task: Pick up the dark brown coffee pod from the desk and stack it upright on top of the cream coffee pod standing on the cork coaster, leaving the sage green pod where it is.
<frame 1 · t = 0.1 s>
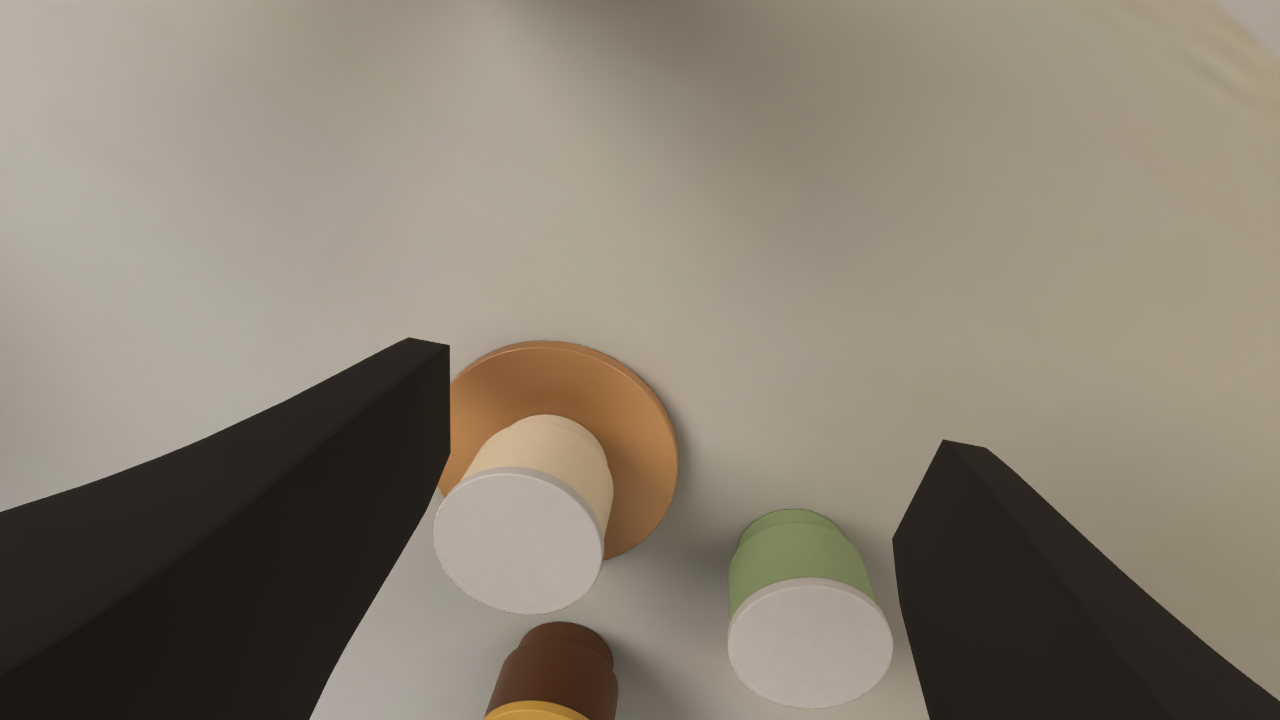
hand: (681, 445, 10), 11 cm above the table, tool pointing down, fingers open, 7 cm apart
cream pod: (551, 464, 22), point 1 cm above the table, touching coaster
brown pod: (565, 658, 26), on the table
coaster: (555, 455, 22), on the table
green pod: (791, 553, 23), on the table
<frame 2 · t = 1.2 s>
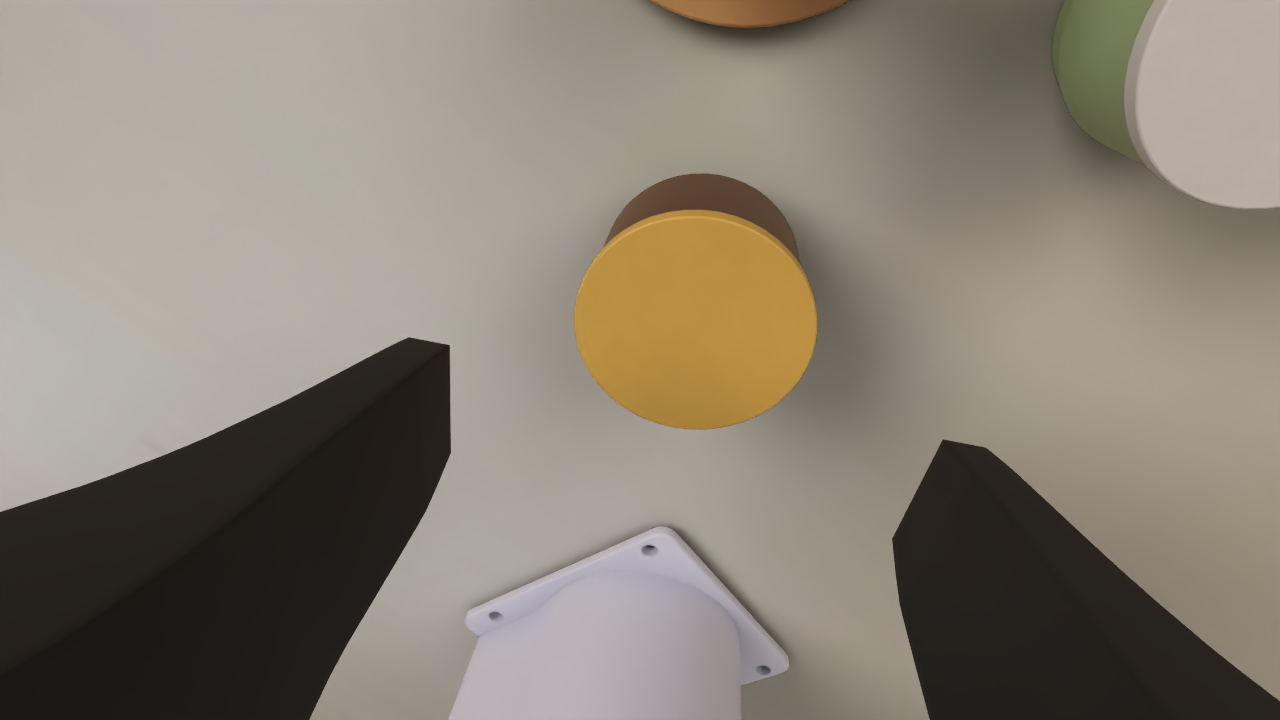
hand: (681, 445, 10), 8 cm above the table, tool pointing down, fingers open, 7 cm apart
brown pod: (701, 249, 16), on the table
green pod: (1158, 21, 13), on the table
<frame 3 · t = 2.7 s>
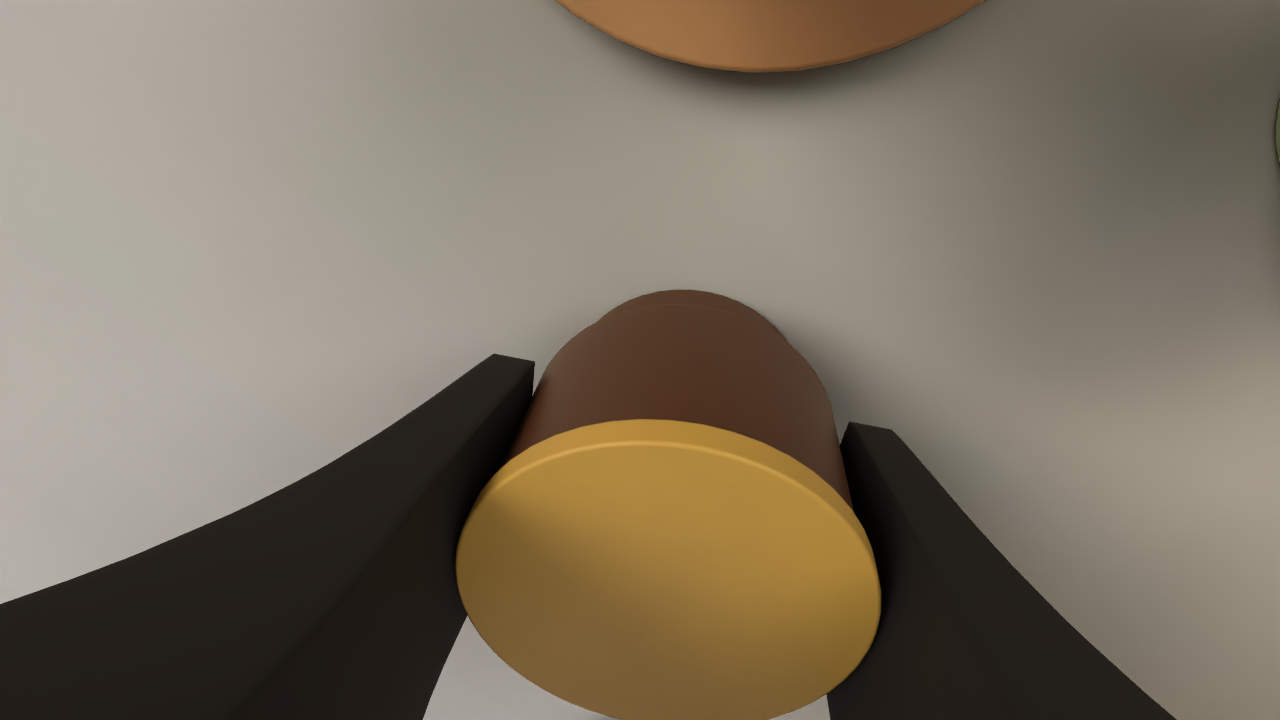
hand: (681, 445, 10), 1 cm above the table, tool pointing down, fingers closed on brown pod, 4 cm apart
brown pod: (684, 391, 11), on the table, touching gripper
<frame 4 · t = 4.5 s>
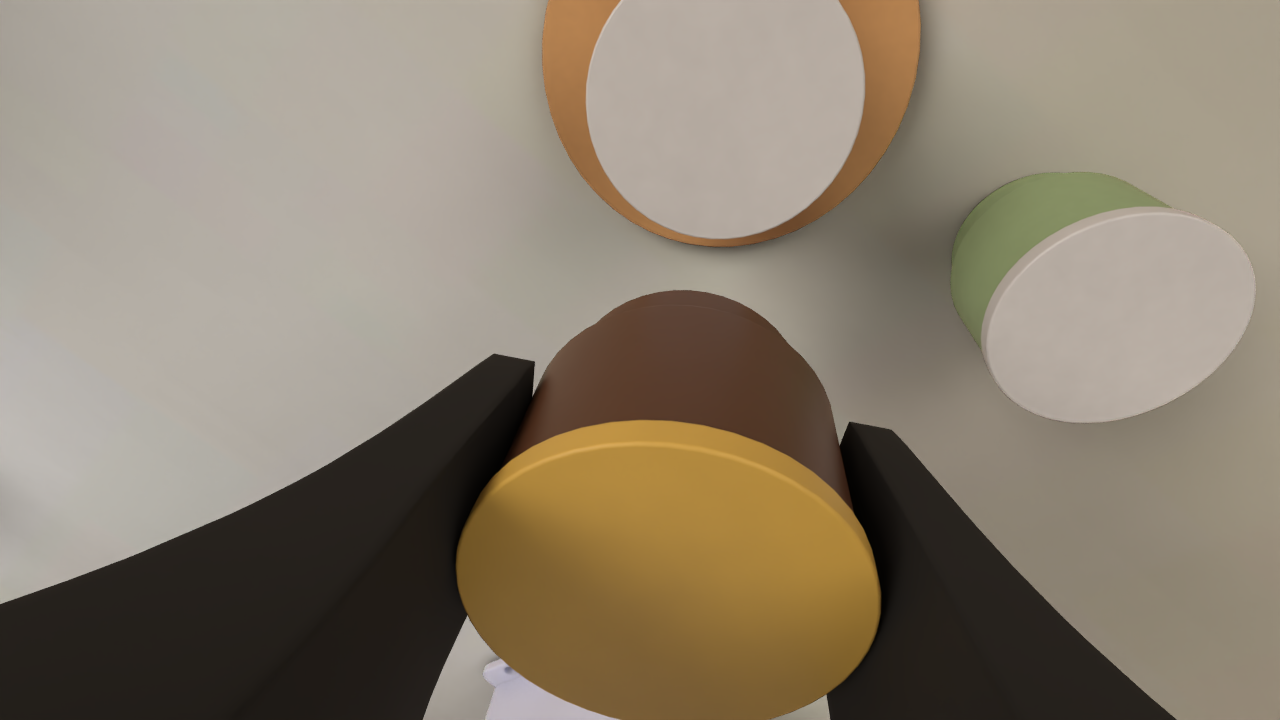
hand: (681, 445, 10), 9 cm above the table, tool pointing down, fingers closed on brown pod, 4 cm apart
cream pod: (724, 72, 15), point 1 cm above the table, touching coaster
brown pod: (684, 392, 11), point 8 cm above the table, touching gripper
coaster: (724, 68, 15), on the table
green pod: (1031, 247, 17), on the table
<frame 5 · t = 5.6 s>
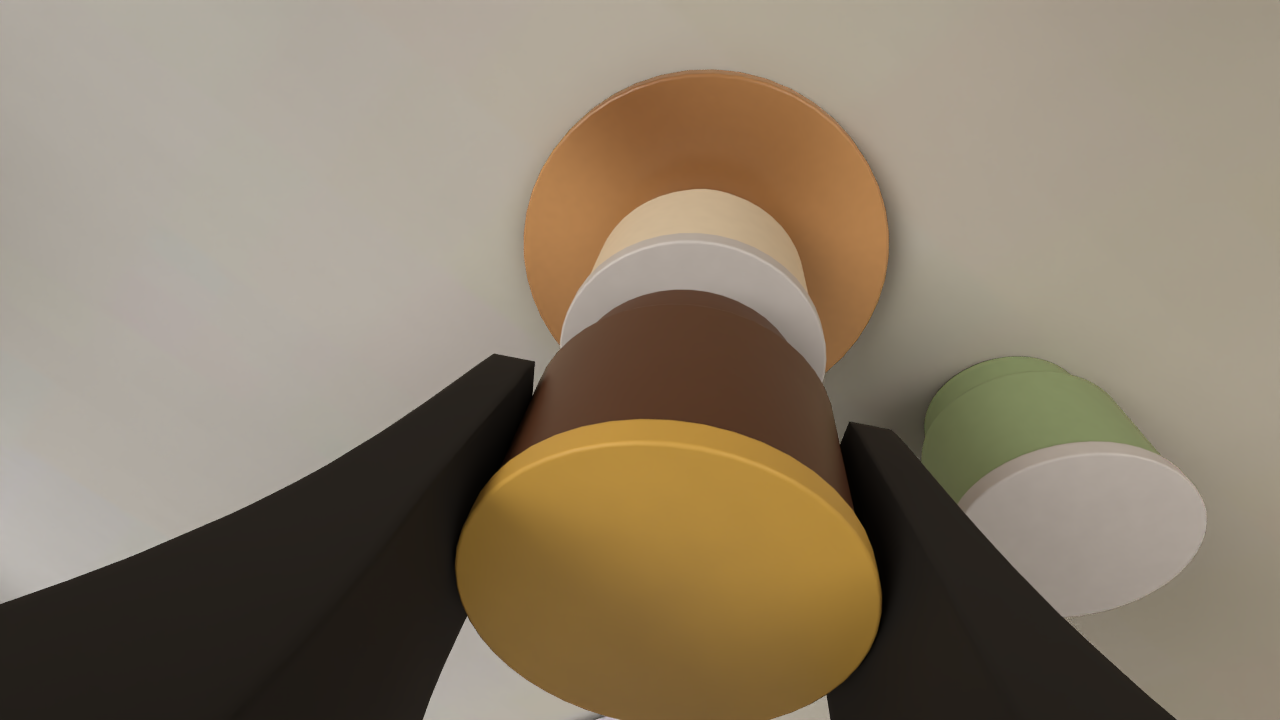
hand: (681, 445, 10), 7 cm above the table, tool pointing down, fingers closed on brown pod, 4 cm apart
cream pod: (699, 268, 15), point 1 cm above the table, touching coaster
brown pod: (684, 391, 11), point 6 cm above the table, touching gripper
coaster: (700, 258, 16), on the table
green pod: (1001, 418, 17), on the table
when the fingers open (6 cm above the table, at t = 6.3 s): brown pod stays where it is, resting on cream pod.
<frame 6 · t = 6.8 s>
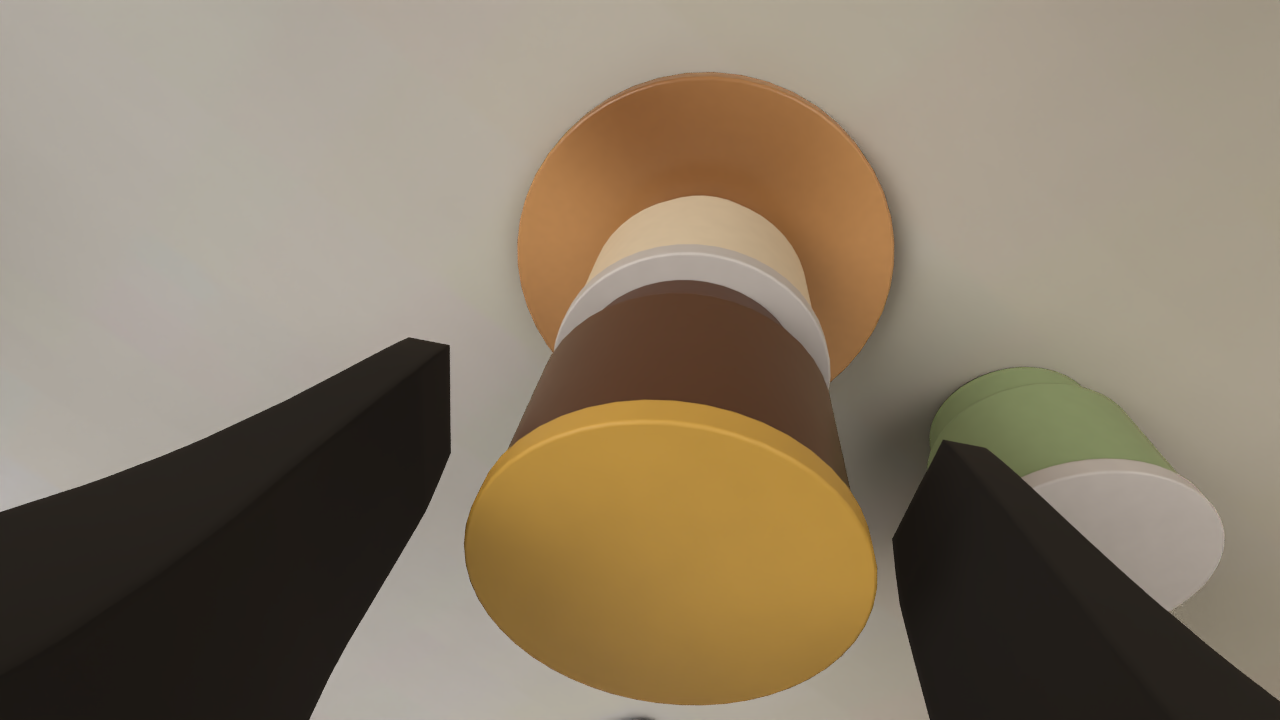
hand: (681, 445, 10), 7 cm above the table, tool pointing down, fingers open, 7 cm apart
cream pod: (698, 277, 15), point 1 cm above the table, touching brown pod, coaster
brown pod: (685, 380, 11), point 5 cm above the table, touching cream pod
coaster: (700, 266, 15), on the table
green pod: (1008, 429, 17), on the table
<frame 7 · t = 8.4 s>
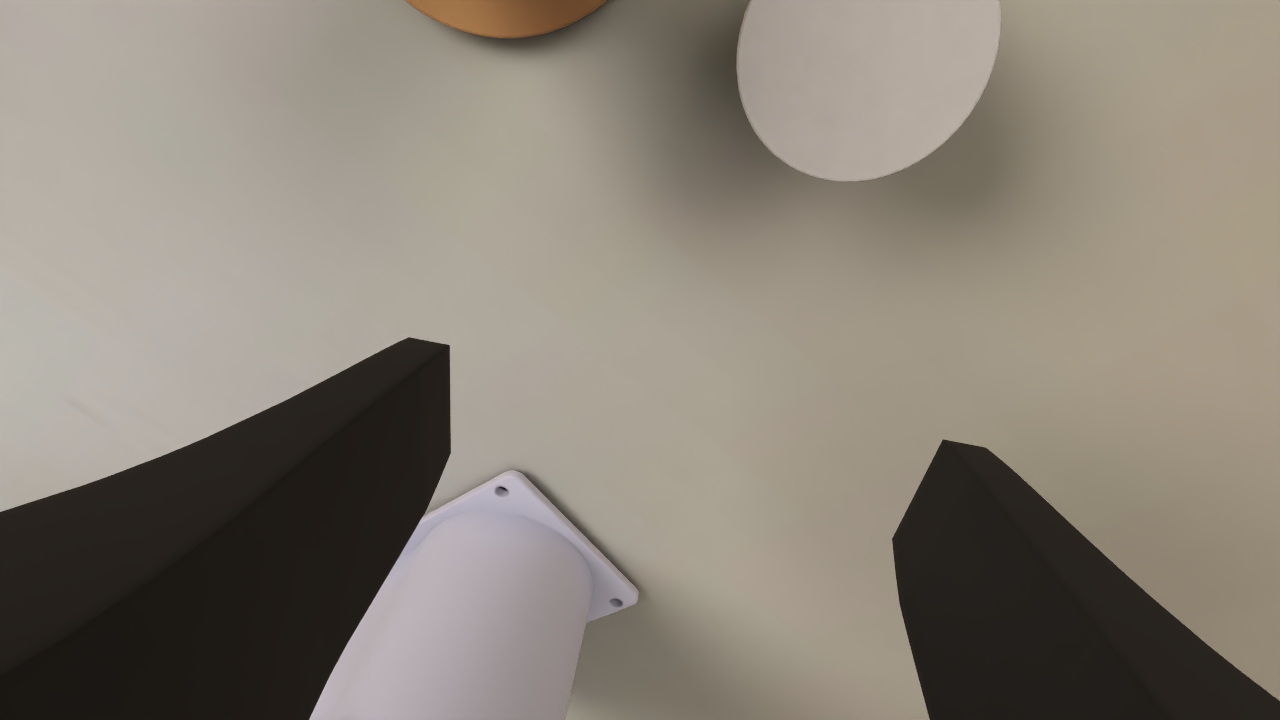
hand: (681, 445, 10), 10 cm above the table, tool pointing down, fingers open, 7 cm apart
green pod: (834, 33, 16), on the table
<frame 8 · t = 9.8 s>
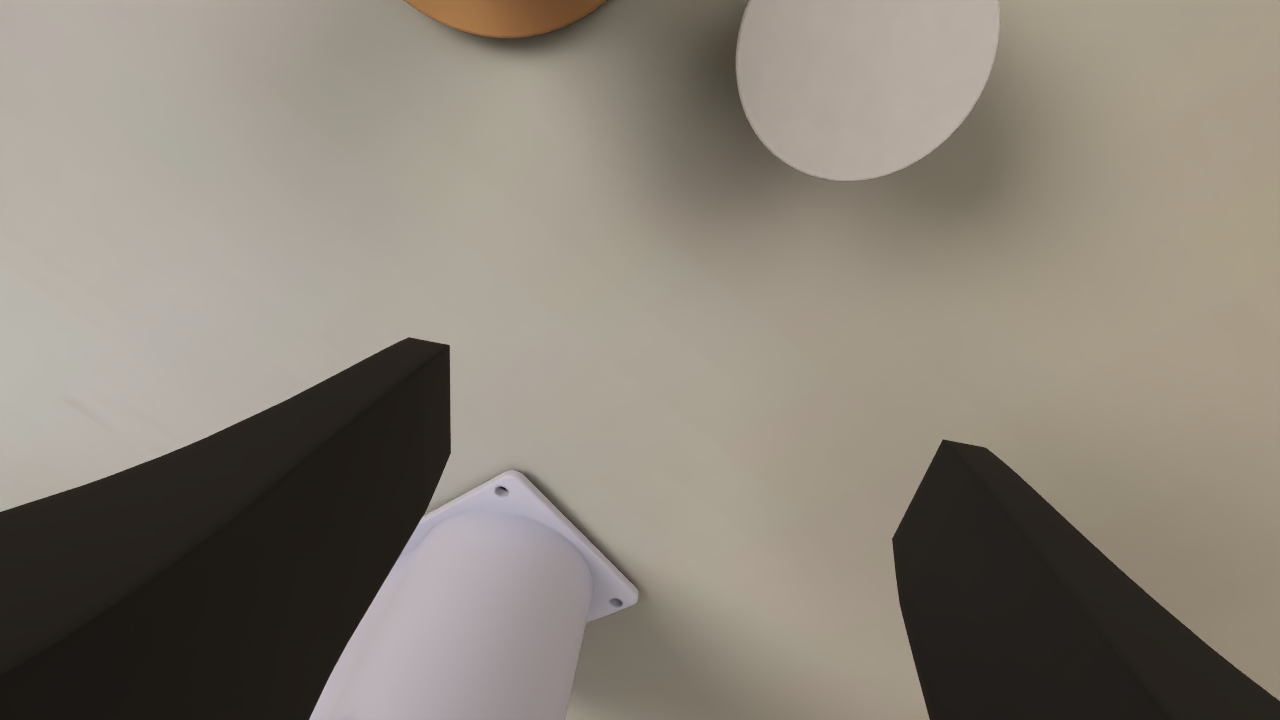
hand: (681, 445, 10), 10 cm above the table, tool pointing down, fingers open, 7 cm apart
green pod: (833, 33, 16), on the table
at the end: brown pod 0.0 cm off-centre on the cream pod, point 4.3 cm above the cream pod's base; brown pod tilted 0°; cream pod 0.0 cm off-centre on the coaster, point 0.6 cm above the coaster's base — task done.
